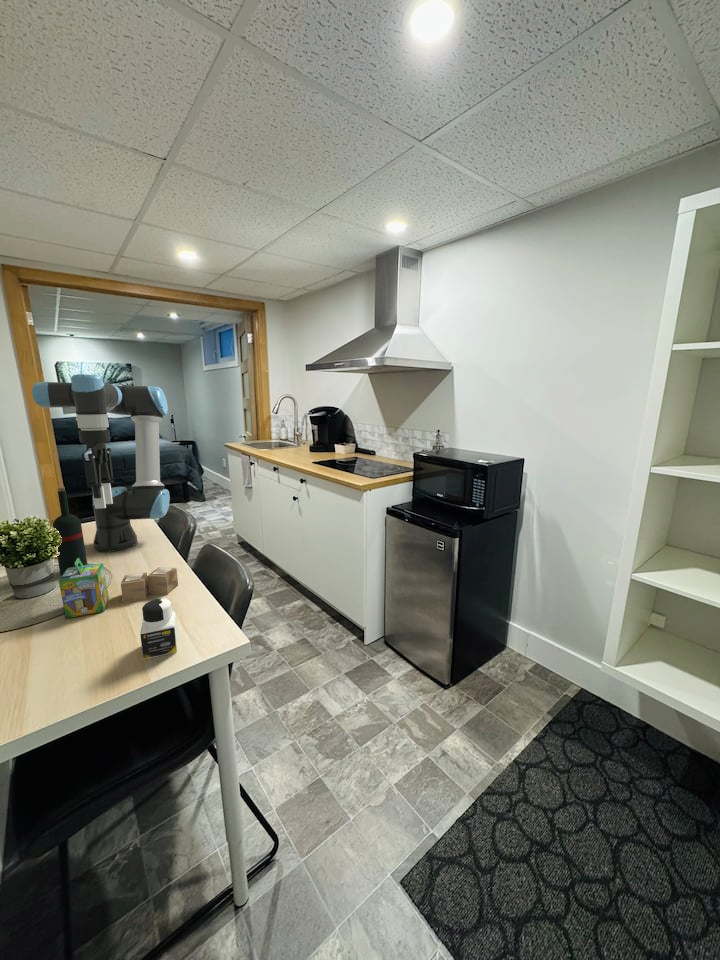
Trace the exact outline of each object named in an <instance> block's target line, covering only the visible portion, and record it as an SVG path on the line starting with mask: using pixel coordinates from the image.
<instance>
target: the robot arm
mask: <svg viewBox="0 0 720 960" xmlns="http://www.w3.org/2000/svg"><path fill="white" fill-rule="evenodd" d="M70 381H71V382H63V381H62V382H60V381H59V382H57V381H56V382H55V381H41V382H40V381H38V382H35V383H34V384H33V386H32V388H31V394H32V399H33V401H34V403H35V404H36V405H37V406H39V407H41V408H50V409H51V408H52V409H53V408H65V409H67V408H68V409H69V408H71V409H72V408H73V409H75V416H76V417H75V421H76V423H77V429H80V430H79V431H78V438H79V439H78V440H79V442H80V443H81V444H85V445H86V446H85V447H86V449H85V450H86V451H85V453H83V452H82V453H81V460H82V461H83V467H84V474H85V479H86V486H87V488H90V489H91V490H92V507H93V508H92V509H93V513H94V521H95V527H96V531H95V535H94V538H93V544H92V545H93V549H94V550H95V551H97V552H106V553H107V552H108V553H109V552H115V551H121V550H126V549H128V548H130V547H133V546H135V545H136V544H137V543H138V536H137V534H136V531H135V530H134V528H133V526H132V525H131V521H134V520H149V519H150V520H154V519H162V518H164V517H165V516H166V514H167V513H168V511H169V508H170V500H171V496H170V491H169V490H168V489H166V488H165V484H164V483H162V482H161V466H160V465H161V464H160V463H161V460H160V457H161V456H160V423H162V422H163V420H164V417H165V416H167V415H168V411H169V408H168V406H169V405H168V402H167V398H166V395H165V393H164V390H162V388H161V387H159V386H153V385H152V386H150V385H115V384H112V383H110V382H104V379H103V377H102V376H101V375H99V374H83V373H82V374H81V373H80V374H73V375H72V376H71V380H70ZM108 414H114V415H122V416H130V419H131V421H133V422H134V430H135V435H134V437H135V440H134V441H135V478H136V479H135V482H134V484H133V485H131V490H128V488H127V487H126V486H115V487H112V485H111V483H114V481H115V480H114V471H113V465H112V464H113V463H112V449H111V447H107V445H106V443H110V442H111V433H110V430H109V427H110V425H109V417H108ZM134 544H135V545H134Z"/></svg>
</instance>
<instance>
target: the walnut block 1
mask: <svg viewBox="0 0 720 960" xmlns="http://www.w3.org/2000/svg"><path fill="white" fill-rule="evenodd" d="M147 576H148V572H139V573H134V574H133V573H131V574H126V575H124V576H123V578H122V580H121V582H120V588H121V589H120V590H121V591H120V592H121V599H122V603H130V602H135V601H141V600H142V601H143V600H147V596H148V594H149V588H148V579H147Z"/></svg>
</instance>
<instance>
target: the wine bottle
mask: <svg viewBox="0 0 720 960" xmlns="http://www.w3.org/2000/svg"><path fill="white" fill-rule="evenodd" d="M57 497H58V503H59V509H60V515H59V516H57V517H56V518H55V520H54V521H53V522H52V528H53V527H54V528H56V529H57V530H58V531H59V533H60V535H61V537H62V543H61V545H60V546H59V547H58V552H60V555H59V556H57V555H56V556H57V561H58V562H57V563H58V570H59V575H60V577H61V576H62V575H63V574H64V572H65V571H66V569H67V568H72V567H75V564H74V563H75V561H76V560H77V558H79V559H80V561H81V562H82V564H83V565H89V564H88V560H87V559H88V558H87V553H86V547H85V540H84V532H83V528H82V520H80V518H79V517H77V515H74V514H71V513H70V508H69V502H68V495H67V491H66V488H65V486H59V487H57ZM79 566H80V564H79V563H78V567H79Z"/></svg>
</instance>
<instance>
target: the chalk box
mask: <svg viewBox="0 0 720 960" xmlns="http://www.w3.org/2000/svg"><path fill="white" fill-rule="evenodd" d="M78 563H79V564H80V566H79V567H78ZM74 564H75V567H72V568H67V569H66V571H65V572H64V574H63V575H62V576H61V575H60V578H59V580H58V584H59V590H60V595H61V600H62V606H63V610H64V615H65V619H66V620H67V619H71V618H75V617H81V616H86V615H92V614H96V613H102V612H104V611H105V609H106V606H107V604H108V601H109V592H108V586H107V579H106V572H105V564H104V563H103V562H101V563H95V564H88V565H83V564H82V562H81V561H80V559H79V558H77V560H76V561H75V563H74Z"/></svg>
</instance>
